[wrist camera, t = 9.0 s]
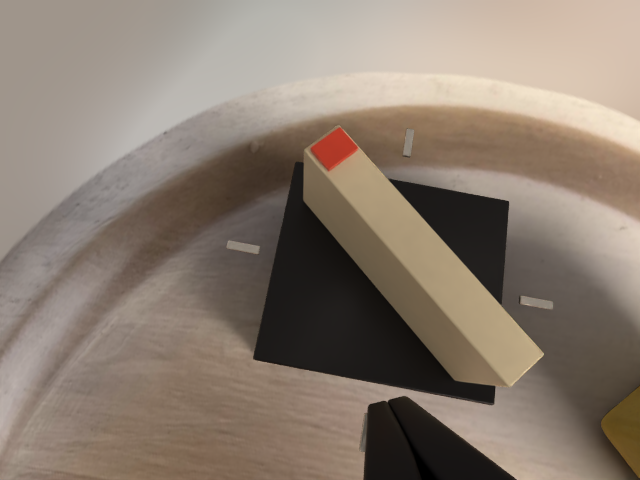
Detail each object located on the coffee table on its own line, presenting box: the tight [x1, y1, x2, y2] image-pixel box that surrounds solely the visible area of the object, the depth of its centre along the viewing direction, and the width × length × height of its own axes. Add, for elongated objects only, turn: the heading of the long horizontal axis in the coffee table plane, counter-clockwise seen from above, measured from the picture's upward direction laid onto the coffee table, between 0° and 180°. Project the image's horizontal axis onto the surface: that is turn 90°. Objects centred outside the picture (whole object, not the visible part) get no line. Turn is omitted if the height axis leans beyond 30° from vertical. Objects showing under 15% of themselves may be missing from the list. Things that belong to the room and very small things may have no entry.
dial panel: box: [227, 128, 553, 452], centre depth 21 cm, size 14×14×4 cm
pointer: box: [303, 125, 544, 387], centre depth 17 cm, size 10×2×5 cm, turn 39°
